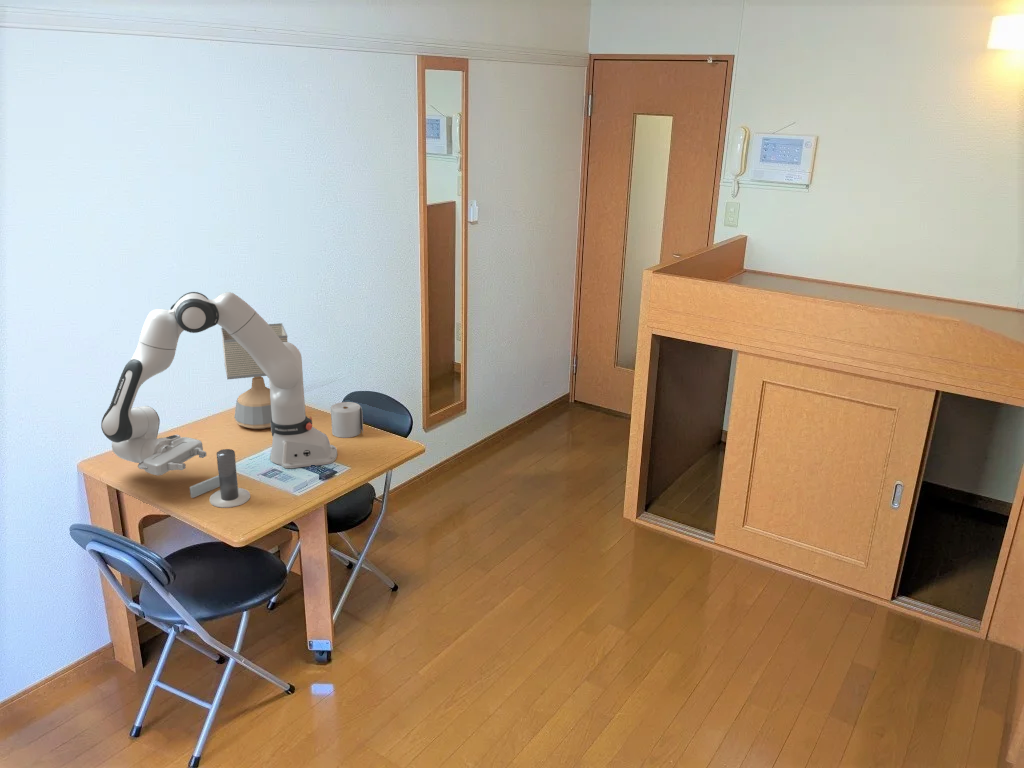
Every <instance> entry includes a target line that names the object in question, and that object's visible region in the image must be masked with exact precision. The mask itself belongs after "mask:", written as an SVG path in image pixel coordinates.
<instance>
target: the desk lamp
mask: <svg viewBox="0 0 1024 768" xmlns="http://www.w3.org/2000/svg"><path fill="white" fill-rule="evenodd" d="M268 324H269V325H270V326H271V327H272V328H273V330H274V331H275V333H276V334H277V336H278V337H279V338H280V339H281V341H282V342H289V340H288V334H287V331H286V329H285V326H284V325H283V323H268ZM220 330H221V338H222V348H223V359H224V360H223V361H224V367H225V368H224V369H225V374H226V378H227V379H226V380H234V379H235V380H238V379H245V378H247V379H248V378H252V380H251V388H249V389H248V390H246V391H244V392H243V393H241V394H240V395H238V397H237V400H236V402H235V409H234V410H235V411H234V417H233V418H234V421H235V422H236V424H237V425H239V426H241V427H244V428H248V429H252V430H264V429H271V419H272V413H271V401H270V387H267V386H266V383H265V379H264V377H267V376H266V374H265V373H264V372H263V371H262V370H261V368H260V367H259V366H258V365H257V364H256V362H255V361H254V360H253V358H252V357H251V356H250V355H249V353H248V352H247V351H246V350H245V349H244V348H243V347H242V346H241V345H240V344H239V343H238V342H237V341H236V340H235V339H234V338H233V337H232V336H231V335H230V334H229V333H228V332H227V331H226V330H225V329H224V328H222V327H220Z"/></svg>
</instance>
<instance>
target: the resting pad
mask: <svg viewBox="0 0 1024 768" xmlns="http://www.w3.org/2000/svg"><path fill="white" fill-rule="evenodd" d="M238 494H239V496H238V498H236V499H234V500H230V501H225V500H222V499H221V492H220V489H219V490H216V491H215V492H214V493H212V494H211V495H210V497H209V498H208V499H209V504H211V505H212V506H213V507H217V508H221V509H222V508H223V509H224V508H225V509H226V508H237V507H238V506H242V505H244V504H246V503H247V502H248V501H250V499H251V493H250V491H249V490H248V489H245V488H242V487H238Z"/></svg>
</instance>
